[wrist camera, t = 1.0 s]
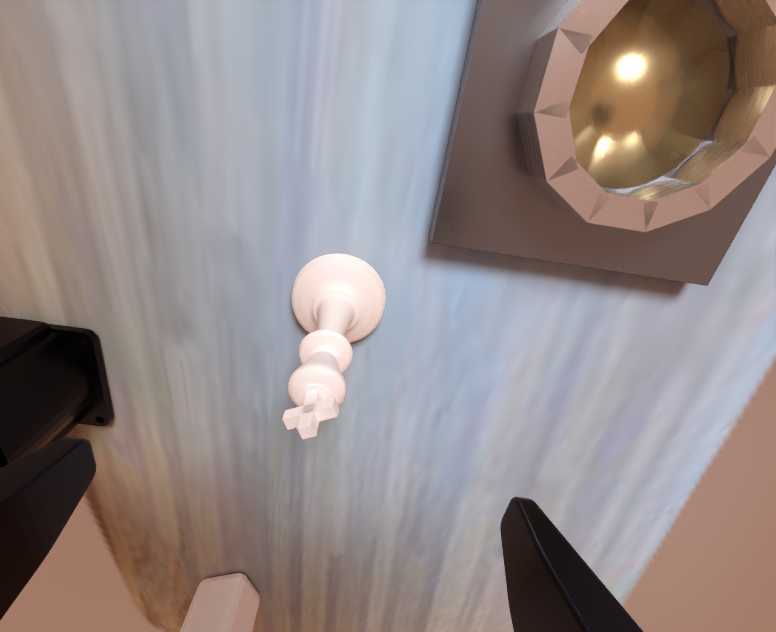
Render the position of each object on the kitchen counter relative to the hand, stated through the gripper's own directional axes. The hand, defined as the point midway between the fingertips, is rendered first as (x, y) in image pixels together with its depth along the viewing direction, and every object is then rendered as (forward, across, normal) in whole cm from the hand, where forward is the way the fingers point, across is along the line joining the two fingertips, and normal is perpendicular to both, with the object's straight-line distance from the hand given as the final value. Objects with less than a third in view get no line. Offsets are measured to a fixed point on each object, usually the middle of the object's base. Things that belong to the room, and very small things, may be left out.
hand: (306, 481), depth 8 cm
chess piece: (+13, +1, +2) cm, 13 cm away
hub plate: (+13, -10, -9) cm, 19 cm away
